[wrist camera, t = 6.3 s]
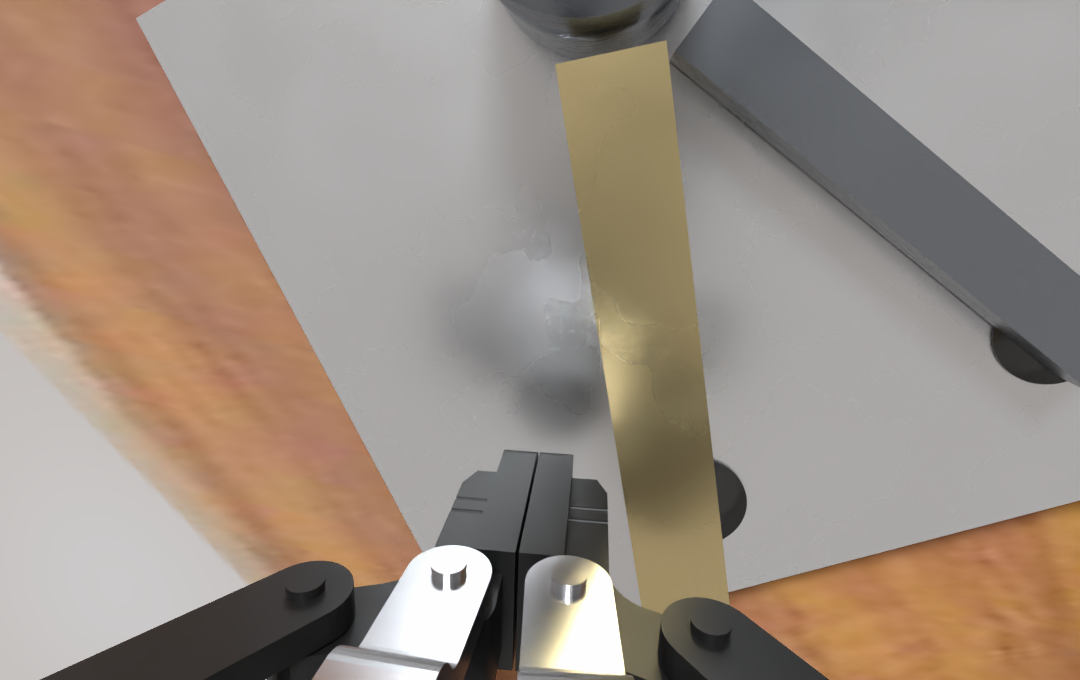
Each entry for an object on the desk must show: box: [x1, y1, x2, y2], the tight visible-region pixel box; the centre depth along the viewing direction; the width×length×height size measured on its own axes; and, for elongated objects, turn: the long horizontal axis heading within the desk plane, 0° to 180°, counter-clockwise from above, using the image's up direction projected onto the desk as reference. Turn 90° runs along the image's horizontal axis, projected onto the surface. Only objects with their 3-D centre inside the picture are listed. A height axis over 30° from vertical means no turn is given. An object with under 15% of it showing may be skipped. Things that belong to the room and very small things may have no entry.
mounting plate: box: [136, 0, 1080, 606], centre depth 12 cm, size 18×18×5 cm
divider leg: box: [555, 40, 730, 614], centre depth 12 cm, size 10×2×4 cm, turn 10°
